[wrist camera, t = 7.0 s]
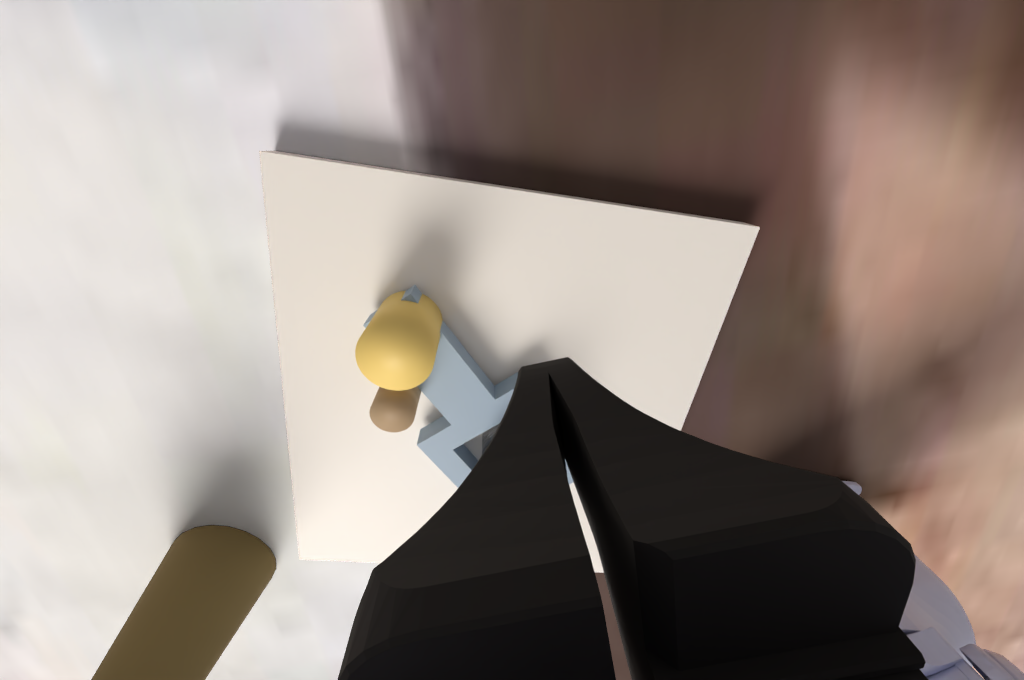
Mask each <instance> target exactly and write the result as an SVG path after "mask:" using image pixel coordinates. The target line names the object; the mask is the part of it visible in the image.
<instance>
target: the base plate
mask: <svg viewBox="0 0 1024 680" xmlns="http://www.w3.org/2000/svg"><path fill="white" fill-rule="evenodd" d="M259 154H260V164H261V174H262V185H263V195H264V205H265V215H266V226H267V236H268V246H269V256H270V266H271V277H272V287H273V297H274V307H275V317H276V328H277V338H278V348H279V358H280V369H281V379H282V389H283V399H284V409H285V420H286V430H287V440H288V450H289V461H290V471H291V481H292V491H293V501H294V512H295V522H296V532H297V542H298V552H299V560H319V561H342V562H366V563H381V562H383V561H384V560H385V559H386V558H387V557H388V556H390V555H391V554H392V553H393V552H394V551H395V550H396V549H398V548H399V547H400V546H401V545H402V544H403V543H404V542H406V541H407V540H408V539H409V538H410V537H411V536H412V535H414V534H415V533H416V532H417V531H418V530H419V529H420V528H421V527H422V526H423V525H424V524H425V523H426V522H427V521H428V520H429V519H430V518H431V517H432V516H433V515H434V514H435V513H436V512H437V511H438V510H439V509H440V508H441V507H442V506H443V505H444V504H445V503H446V502H447V500H448V499H449V498H450V497H451V496H452V495H453V494H454V493H455V491H456V490H457V489H458V487H457V486H456V485H455V484H454V483H453V482H452V481H451V480H450V479H449V478H448V477H447V476H446V475H445V474H444V473H443V472H442V471H441V470H440V469H439V468H438V467H437V466H436V465H435V464H434V463H433V462H432V460H431V459H430V458H429V457H428V456H427V455H426V454H425V453H424V452H423V451H422V450H421V449H420V448H419V447H418V446H417V441H418V437H419V433H420V429H422V428H423V427H425V426H427V425H428V424H430V423H432V422H433V421H435V420H437V419H439V418H440V417H442V416H443V415H442V414H441V413H440V411H439V410H438V409H437V408H436V407H435V406H434V405H433V404H432V402H431V401H430V400H429V399H428V398H427V397H426V396H425V395H424V393H423V392H422V391H421V395H420V399H419V403H418V407H417V411H416V415H415V418H414V421H413V423H412V425H411V426H410V427H409V428H408V429H406V430H404V431H401V432H387V431H384V430H381V429H380V428H378V427H377V426H376V425H375V424H374V423H373V422H372V420H371V418H370V413H369V412H370V407H371V405H372V403H373V400H374V398H375V396H376V394H377V391H378V389H379V386H377V385H375V384H374V383H372V382H371V381H369V380H368V379H367V378H366V377H365V376H364V375H363V374H362V372H361V371H360V369H359V367H358V365H357V362H356V357H355V349H356V345H357V342H358V340H359V338H360V336H361V335H362V333H363V332H364V330H365V329H366V328H365V327H364V326H363V325H364V323H365V322H366V320H367V319H368V317H369V316H370V314H372V313H373V312H375V311H376V310H378V309H379V307H380V306H381V304H382V303H383V301H384V300H385V299H386V298H387V297H389V296H390V295H392V294H394V293H396V292H400V291H406V290H408V289H409V288H411V287H412V286H414V285H416V286H417V288H418V289H419V290H420V292H421V293H422V294H424V295H426V296H427V297H429V298H430V299H431V300H433V301H434V302H435V304H436V305H437V306H438V308H439V310H440V312H441V314H442V319H443V321H444V322H445V323H446V325H447V326H448V327H449V329H450V330H451V331H452V332H453V334H454V335H455V336H456V337H457V339H458V340H459V341H460V343H461V344H462V345H463V346H464V348H465V349H466V350H467V351H468V353H469V354H470V355H471V357H472V358H473V359H474V360H475V362H476V363H477V364H478V365H479V367H480V368H481V369H482V371H483V372H484V373H485V374H486V376H487V377H488V378H489V380H490V381H491V382H492V383H493V385H494V386H495V385H496V384H498V383H500V382H502V381H503V380H505V379H507V378H508V377H510V376H512V375H514V374H515V373H517V372H518V371H519V370H520V368H521V367H522V366H527V365H532V364H537V363H541V362H546V361H551V360H556V359H560V358H565V357H569V358H570V359H572V360H573V361H574V362H575V363H576V364H577V365H578V366H579V367H581V368H582V369H583V370H584V371H585V372H586V373H587V374H589V375H590V376H591V377H592V378H593V379H595V380H596V381H597V382H598V383H600V384H601V385H602V386H604V387H605V388H606V389H608V390H609V391H610V392H612V393H613V394H615V395H616V396H617V397H619V398H620V399H622V400H623V401H625V402H626V403H628V404H630V405H631V406H633V407H634V408H636V409H638V410H639V411H641V412H643V413H645V414H647V415H649V416H651V417H653V418H655V419H656V420H658V421H660V422H662V423H664V424H666V425H668V426H671V427H673V428H675V429H677V430H680V431H681V429H682V426H683V424H684V421H685V419H686V416H687V413H688V411H689V408H690V406H691V403H692V401H693V398H694V395H695V393H696V390H697V388H698V385H699V383H700V380H701V377H702V375H703V372H704V370H705V367H706V365H707V362H708V360H709V357H710V354H711V352H712V349H713V347H714V344H715V342H716V339H717V336H718V334H719V331H720V329H721V326H722V324H723V321H724V318H725V316H726V313H727V311H728V308H729V306H730V303H731V300H732V298H733V295H734V293H735V290H736V288H737V285H738V283H739V280H740V277H741V275H742V272H743V270H744V267H745V265H746V262H747V259H748V257H749V254H750V252H751V249H752V247H753V244H754V241H755V239H756V236H757V234H758V231H759V229H760V227H758V226H755V225H751V224H748V223H744V222H738V221H732V220H725V219H719V218H712V217H705V216H699V215H692V214H686V213H679V212H673V211H666V210H659V209H653V208H646V207H640V206H633V205H627V204H620V203H613V202H607V201H600V200H594V199H587V198H581V197H574V196H568V195H561V194H554V193H548V192H541V191H535V190H528V189H522V188H515V187H508V186H502V185H495V184H489V183H482V182H476V181H469V180H463V179H456V178H449V177H443V176H436V175H430V174H423V173H417V172H410V171H403V170H397V169H390V168H384V167H377V166H371V165H364V164H357V163H351V162H344V161H338V160H331V159H325V158H318V157H312V156H305V155H298V154H292V153H285V152H279V151H259ZM482 434H483V433H482ZM482 434H480V435H478V436H476V437H475V438H473V439H471V440H469V441H468V442H466V443H464V445H465V446H466V447H467V449H468V450H469V451H470V452H471V453H472V454H473V455H474V456H475V457H476V459H477V460H478V461H479V459H480V458H481V456H482ZM569 486H570V490H571V493H572V497H573V500H574V504H575V507H576V510H577V514H578V517H579V521H580V524H581V527H582V531H583V534H584V537H585V540H586V544H587V547H588V550H589V553H590V557H591V561H592V565H593V568H594V572H603V573H604V571H603V567H602V563H601V560H600V556H599V552H598V549H597V546H596V543H595V540H594V537H593V533H592V531H591V528H590V525H589V523H588V520H587V517H586V514H585V512H584V509H583V506H582V503H581V501H580V498H579V495H578V493H577V490H576V487H575V484H574V482H573V483H571V484H569Z"/></svg>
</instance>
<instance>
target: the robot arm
mask: <svg viewBox="0 0 1024 680" xmlns="http://www.w3.org/2000/svg"><path fill="white" fill-rule="evenodd" d="M565 460H566V462H567V465H568V468H569V471H570V473H571V476H572V479H573V482H574V484H575V487H576V490H577V493H578V495H579V498H580V501H581V503H582V506H583V509H584V512H585V514H586V517H587V520H588V523H589V525H590V528H591V531H592V533H593V537H594V540H595V543H596V546H597V549H598V552H599V556H600V560H601V563H602V567H603V571H604V575H605V579H606V582H607V586H608V590H609V594H610V597H611V601H612V605H613V609H614V613H615V617H616V620H617V624H618V628H619V632H620V636H621V639H622V643H623V647H624V651H625V655H626V659H627V663H628V667H629V670H630V674H631V678H632V680H984V679H985V680H1024V673H1023V672H1022V671H1020V670H1019V669H1018V668H1017V667H1016V666H1015V665H1014V664H1012V663H1011V662H1010V661H1009V660H1008V659H1006V658H1005V657H1004V656H1002V655H1000V654H998V653H995V652H992V651H989V650H986V649H983V650H982V649H981V648H980V647H978V646H977V645H976V642H975V636H974V632H973V629H972V626H971V624H970V622H969V619H968V617H967V615H966V613H965V611H964V609H963V607H962V606H961V604H960V603H959V601H958V600H957V598H956V597H955V595H954V594H953V593H952V591H951V590H950V589H949V588H948V587H947V585H946V584H945V583H944V582H943V581H942V580H941V579H940V578H939V577H938V576H937V575H936V574H935V573H934V572H932V571H931V570H930V569H929V568H928V567H927V566H926V565H925V564H924V563H923V562H922V561H921V560H920V559H919V558H918V557H917V556H916V555H915V554H914V553H913V550H912V547H911V544H910V543H909V542H908V541H907V540H906V539H905V538H904V537H903V536H902V535H901V534H899V533H898V532H897V531H896V530H895V529H894V528H893V527H892V526H891V525H890V524H889V523H888V522H887V521H886V520H885V519H884V518H883V517H882V516H881V515H880V514H879V513H878V512H877V511H876V510H875V509H874V508H873V507H872V506H871V505H869V504H868V503H867V502H866V501H865V500H864V499H863V498H862V497H860V496H859V495H860V493H861V491H862V487H861V486H860V485H859V484H857V483H856V482H851V481H841V480H840V479H839V478H837V477H833V476H829V475H824V474H820V473H816V472H812V471H807V470H803V469H799V468H794V467H790V466H786V465H782V464H777V463H773V462H769V461H766V460H762V459H759V458H756V457H752V456H749V455H746V454H742V453H739V452H736V451H733V450H730V449H727V448H724V447H721V446H718V445H715V444H712V443H709V442H707V441H704V440H702V439H699V438H697V437H694V436H692V435H689V434H687V433H684V432H682V431H680V430H677V429H675V428H673V427H671V426H668V425H666V424H664V423H662V422H660V421H658V420H656V419H655V418H653V417H651V416H649V415H647V414H645V413H643V412H641V411H639V410H638V409H636V408H634V407H633V406H631V405H630V404H628V403H626V402H625V401H623V400H622V399H620V398H619V397H617V396H616V395H615V394H613V393H612V392H610V391H609V390H608V389H606V388H605V387H604V386H602V385H601V384H600V383H598V382H597V381H596V380H595V379H593V378H592V377H591V376H590V375H589V374H587V373H586V372H585V371H584V370H583V369H582V368H581V367H579V366H578V365H577V364H576V363H575V362H574V361H573V360H572V359H570V358H569V357H565V358H560V359H556V360H551V361H546V362H541V363H537V364H532V365H527V366H522V367H521V368H520V370H519V371H518V377H517V381H516V385H515V388H514V391H513V394H512V397H511V399H510V402H509V404H508V407H507V409H506V412H505V414H504V416H503V418H502V420H501V422H500V424H499V426H498V428H497V430H496V432H495V434H494V436H493V438H492V440H491V441H490V443H489V445H488V447H487V448H486V450H485V451H484V453H483V455H482V456H481V458H480V459H479V461H478V462H477V464H476V465H475V466H474V468H473V469H472V471H471V472H470V473H469V475H468V476H467V477H466V479H465V480H464V481H463V483H462V484H461V485H460V486H459V488H458V489H457V490H456V491H455V493H454V494H453V495H452V496H451V497H450V498H449V499H448V500H447V502H446V503H445V504H444V505H443V506H442V507H441V508H440V509H439V510H438V511H437V512H436V513H435V514H434V515H433V516H432V517H431V518H430V519H429V520H428V521H427V522H426V523H425V524H424V525H423V526H422V527H421V528H420V529H419V530H418V531H417V532H416V533H415V534H414V535H412V536H411V537H410V538H409V539H408V540H407V541H406V542H404V543H403V544H402V545H401V546H400V547H399V548H398V549H396V550H395V551H394V552H393V553H392V554H391V555H390V556H388V557H387V558H386V559H385V560H384V561H383V562H381V563H380V564H379V565H378V566H377V567H375V568H374V569H373V571H372V573H371V576H370V579H369V582H368V584H367V587H366V589H365V592H364V594H363V597H362V599H361V602H360V605H359V607H358V610H357V613H356V616H355V619H354V623H353V626H352V630H351V633H350V637H349V641H348V644H347V648H346V651H345V655H344V659H343V662H342V666H341V670H340V673H339V677H338V680H616V678H615V672H614V667H613V661H612V655H611V650H610V644H609V638H608V633H607V627H606V621H605V615H604V610H603V604H602V600H601V596H600V592H599V588H598V584H597V580H596V576H595V572H594V568H593V565H592V561H591V557H590V553H589V550H588V547H587V544H586V540H585V537H584V534H583V531H582V527H581V524H580V521H579V517H578V514H577V510H576V507H575V504H574V500H573V497H572V493H571V490H570V486H569V483H568V477H567V470H566V462H565ZM972 666H974V668H975V669H976V670H977V671H978V672H979V673H980V674H981V675H982V677H983V678H984V679H983V678H982V677H981V676H980V675H979V674H978V673H977V672H976V671H975V670H974V669H973V668H972Z"/></svg>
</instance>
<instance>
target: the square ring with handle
mask: <svg viewBox="0 0 1024 680" xmlns="http://www.w3.org/2000/svg"><path fill="white" fill-rule="evenodd" d="M363 326H364V327H365V328H366V329H365V330H364V332H363V333H362V335H361V336H360V338H359V340H358V342H357V345H356V349H355V357H356V362H357V365H358V367H359V369H360V371H361V372H362V374H363V375H364V376H365V377H366V378H367V379H368V380H369V381H371V382H372V383H374V384H375V385H377V386H379V387H381V388H385V389H388V390H395V391H401V390H408V389H412V388H414V387H416V386H417V387H418V388H419V389H420V390H421V391H422V392H423V393H424V395H425V396H426V397H427V398H428V399H429V400H430V401H431V402H432V404H433V405H434V406H435V407H436V408H437V409H438V410H439V411H440V413H441V414H442V415H443V416H442V417H440V418H439V419H437V420H435V421H433V422H432V423H430V424H428V425H427V426H425V427H423V428H422V429H420V433H419V437H418V441H417V446H418V447H419V448H420V449H421V450H422V451H423V452H424V453H425V454H426V455H427V456H428V457H429V458H430V459H431V460H432V462H433V463H434V464H435V465H436V466H437V467H438V468H439V469H440V470H441V471H442V472H443V473H444V474H445V475H446V476H447V477H448V478H449V479H450V480H451V481H452V482H453V483H454V484H455V485H456V486H457V487H458V488H459V486H460V485H461V484H462V483H463V481H464V480H465V479H466V477H467V476H468V475H469V473H470V472H471V471H472V469H473V468H474V466H475V465H476V464H477V462H478V460H477V459H476V457H475V456H474V455H473V454H472V453H471V452H470V451H469V450H468V449H467V447H466V446H465V445H464V443H466V442H468V441H469V440H471V439H473V438H475V437H476V436H478V435H480V434H482V433H483V432H485V431H487V430H489V429H490V428H492V427H494V426H496V425H498V424H499V423H500V422H501V420H502V418H503V416H504V414H505V412H506V409H507V407H508V404H509V402H510V399H511V397H512V394H513V391H514V388H515V385H516V381H517V377H518V372H517V373H515V374H514V375H512V376H510V377H508V378H507V379H505V380H503V381H502V382H500V383H498V384H496V385H495V386H494V385H493V383H492V382H491V381H490V380H489V378H488V377H487V376H486V374H485V373H484V372H483V371H482V369H481V368H480V367H479V365H478V364H477V363H476V362H475V360H474V359H473V358H472V357H471V355H470V354H469V353H468V351H467V350H466V349H465V348H464V346H463V345H462V344H461V343H460V341H459V340H458V339H457V337H456V336H455V335H454V334H453V332H452V331H451V330H450V329H449V327H448V326H447V325H446V323H445V322H444V321H443V319H442V314H441V312H440V310H439V308H438V306H437V305H436V304H435V302H434V301H433V300H431V299H430V298H429V297H427V296H426V295H424V294H422V293H421V292H420V290H419V289H418V288H417V286H416V285H414V286H412V287H411V288H409V289H408V290H406V291H400V292H396V293H394V294H392V295H390V296H389V297H387V298H386V299H385V300H384V301H383V303H382V304H381V306H380V307H379V309H378V310H376V311H375V312H373V313H372V314H370V316H369V317H368V319H367V320H366V322H365V323H364V325H363ZM565 462H566V460H565ZM566 470H567V477H568V483H569V484H571V483H573V479H572V476H571V473H570V471H569V468H568V465H567V462H566Z"/></svg>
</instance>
